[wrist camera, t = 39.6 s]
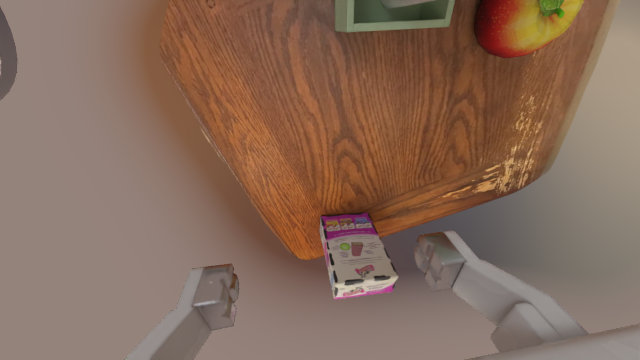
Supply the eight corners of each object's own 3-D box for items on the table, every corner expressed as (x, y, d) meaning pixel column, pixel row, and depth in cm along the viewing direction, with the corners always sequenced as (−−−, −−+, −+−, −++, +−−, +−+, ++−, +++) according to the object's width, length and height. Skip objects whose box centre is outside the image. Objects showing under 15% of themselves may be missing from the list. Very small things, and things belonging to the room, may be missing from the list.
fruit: (481, 69, 38) (537, 81, 30) (447, 18, 33) (502, 16, 25) (545, 7, 34) (629, 1, 26) (516, -61, 30) (608, -94, 21)
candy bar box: (319, 231, 54) (332, 301, 40) (319, 215, 51) (334, 284, 37) (365, 227, 55) (393, 293, 42) (368, 211, 52) (399, 276, 39)
